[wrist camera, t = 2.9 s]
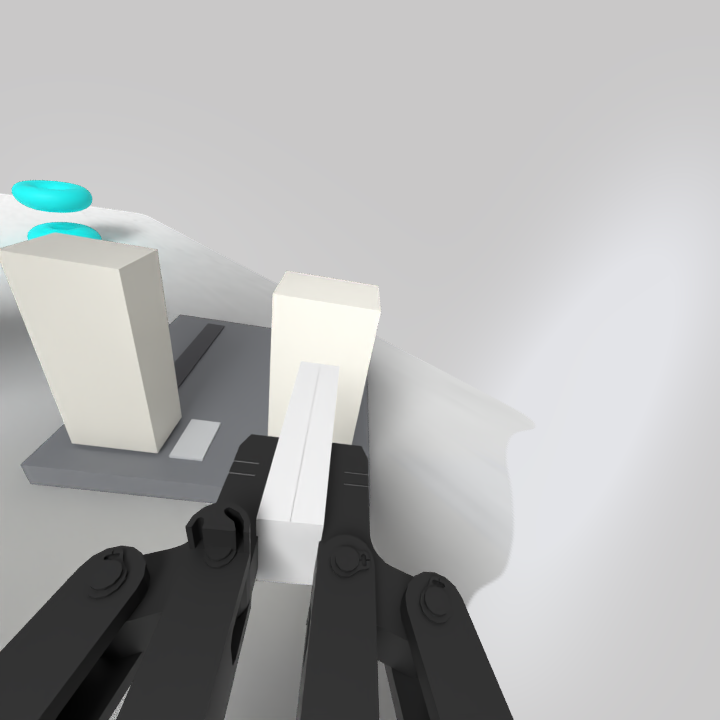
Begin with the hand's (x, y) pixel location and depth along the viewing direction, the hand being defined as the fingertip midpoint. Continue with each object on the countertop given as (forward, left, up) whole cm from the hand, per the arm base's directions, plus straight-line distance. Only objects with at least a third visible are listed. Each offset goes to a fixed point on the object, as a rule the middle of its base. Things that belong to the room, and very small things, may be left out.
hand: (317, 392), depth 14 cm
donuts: (-48, +51, -16) cm, 72 cm away
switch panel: (-7, +17, -15) cm, 24 cm away
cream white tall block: (0, +9, -13) cm, 16 cm away
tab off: (-14, +9, -13) cm, 21 cm away
